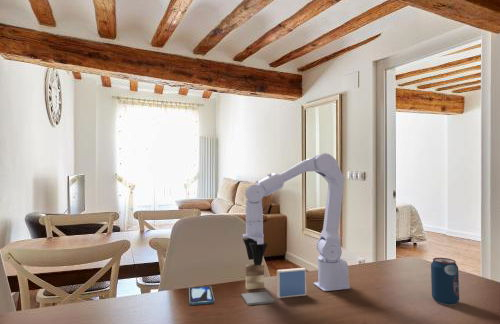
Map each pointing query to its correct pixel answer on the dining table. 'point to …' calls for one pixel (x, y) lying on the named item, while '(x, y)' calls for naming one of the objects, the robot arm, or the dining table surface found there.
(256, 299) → the mat
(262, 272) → the stepped beige block
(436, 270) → the soda can
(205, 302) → the smartphone
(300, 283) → the tile
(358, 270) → the dining table surface
